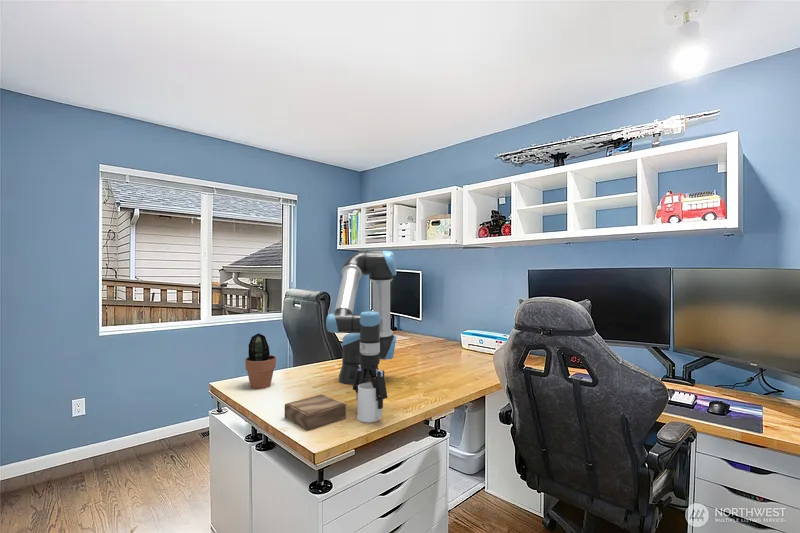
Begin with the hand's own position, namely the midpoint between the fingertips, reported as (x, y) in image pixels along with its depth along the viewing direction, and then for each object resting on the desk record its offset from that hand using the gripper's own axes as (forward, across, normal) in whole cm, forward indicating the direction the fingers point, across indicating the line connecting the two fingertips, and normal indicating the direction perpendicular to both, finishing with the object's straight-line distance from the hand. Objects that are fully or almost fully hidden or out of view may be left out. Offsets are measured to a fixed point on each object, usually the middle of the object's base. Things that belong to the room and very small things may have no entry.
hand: (369, 413), depth 143 cm
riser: (+1, -13, -15) cm, 20 cm away
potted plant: (+1, -64, -12) cm, 65 cm away
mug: (+1, 0, 0) cm, 2 cm away
